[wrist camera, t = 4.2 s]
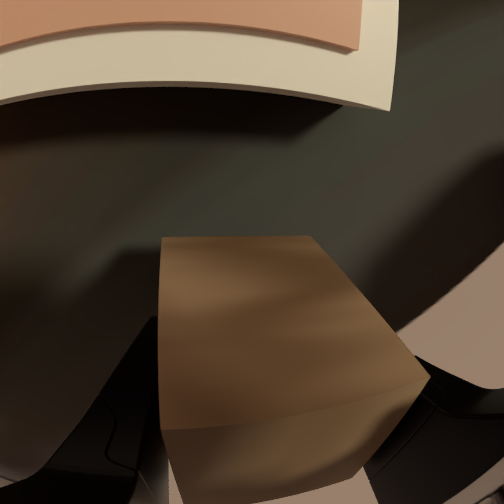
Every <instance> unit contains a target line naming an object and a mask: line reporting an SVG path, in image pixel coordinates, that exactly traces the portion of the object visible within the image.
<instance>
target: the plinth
mask: <svg viewBox="0 0 504 504" xmlns="http://www.w3.org/2000/svg"><path fill="white" fill-rule="evenodd" d="M398 4H399V0H0V105H4V104H8V103H13V102H17V101H22V100H28V99H33V98H39V97H44V96H51V95H57V94H65V93H72V92H81V91H90V90H101V89H115V88H133V87H202V88H221V89H235V90H247V91H257V92H266V93H274V94H282V95H289V96H296V97H302V98H308V99H314V100H320V101H325V102H330V103H335V104H340V105H346V106H355V107H363V108H370V109H378V110H384V111H390V105H391V97H392V89H393V80H394V70H395V59H396V47H397V31H398Z"/></svg>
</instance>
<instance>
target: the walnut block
mask: <svg viewBox="0 0 504 504" xmlns="http://www.w3.org/2000/svg"><path fill="white" fill-rule="evenodd" d="M429 378H430V375H429V374H428V373H427V372H426V370H425V369H424V368H423V367H422V365H421V364H420V363H419V362H418V360H417V359H416V358H415V357H414V355H413V354H412V353H411V352H410V350H409V349H408V348H407V347H406V345H405V344H404V343H403V342H402V340H401V339H400V338H399V337H398V336H397V334H396V333H395V332H394V331H393V330H392V328H391V327H390V326H389V325H388V324H387V322H386V321H385V320H384V319H383V318H382V316H381V315H380V314H379V313H378V312H377V311H376V309H375V308H374V307H373V306H372V305H371V303H370V302H369V301H368V300H367V299H366V298H365V297H364V295H363V294H362V293H361V292H360V291H359V290H358V288H357V287H356V286H355V285H354V284H353V283H352V282H351V280H350V279H349V278H348V277H347V276H346V275H345V274H344V273H343V271H342V270H341V269H340V268H339V267H338V266H337V265H336V264H335V262H334V261H333V260H332V259H331V258H330V257H329V256H328V255H327V254H326V252H325V251H324V250H323V249H322V248H321V247H320V246H319V245H318V244H317V243H316V242H315V240H314V239H313V238H312V237H311V236H206V237H162V242H161V258H160V276H159V303H158V384H159V409H160V427H161V433H162V437H163V440H164V444H165V447H166V451H167V454H168V458H169V461H170V464H171V467H172V471H173V474H174V477H175V480H176V483H177V486H178V489H179V492H180V495H181V498H182V501H183V503H184V504H252V503H257V502H263V501H269V500H273V499H278V498H283V497H287V496H292V495H296V494H300V493H304V492H307V491H311V490H315V489H318V488H322V487H325V486H329V485H332V484H335V483H338V482H341V481H344V480H347V479H350V478H352V477H353V476H354V475H355V474H356V473H357V472H358V471H359V470H360V469H361V468H362V466H363V465H364V464H365V463H366V462H367V461H368V460H369V459H370V457H371V456H372V455H373V454H374V453H375V452H376V451H377V449H378V448H379V447H380V446H381V445H382V443H383V442H384V441H385V440H386V438H387V437H388V436H389V435H390V433H391V432H392V431H393V430H394V428H395V427H396V426H397V424H398V423H399V422H400V420H401V419H402V418H403V416H404V415H405V414H406V412H407V411H408V410H409V408H410V407H411V405H412V404H413V402H414V401H415V400H416V398H417V397H418V395H419V394H420V392H421V391H422V389H423V388H424V386H425V385H426V383H427V382H428V380H429Z"/></svg>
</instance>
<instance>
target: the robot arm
mask: <svg viewBox="0 0 504 504" xmlns="http://www.w3.org/2000/svg"><path fill="white" fill-rule="evenodd" d="M414 357H415V358H416V359H417V360H418V362H419V363H420V364H421V365H422V367H423V368H424V369H425V370H426V372H427V373H428V374H429V375H430V378H429V380H428V382H427V383H426V385H425V386H424V388H423V389H422V391H421V392H420V394H419V395H418V397H417V398H416V400H415V401H414V402H413V404H412V405H411V407H410V408H409V410H408V411H407V412H406V414H405V415H404V416H403V418H402V419H401V420H400V422H399V423H398V424H397V426H396V427H395V428H394V430H393V431H392V432H391V433H390V435H389V436H388V437H387V438H386V440H385V441H384V442H383V443H382V445H381V446H380V447H379V448H378V449H377V451H376V452H375V453H374V454H373V455H372V456H371V457H370V459H369V460H368V461H367V462H366V463H365V464H364V465H363V468H364V470H365V472H366V475H367V477H368V479H369V480H370V481H369V482H370V484H371V487H372V489H373V491H374V494H375V496H376V499H377V501H378V504H504V388H501V389H485V388H481V387H479V386H476V385H474V384H472V383H470V382H468V381H465V380H463V379H461V378H459V377H457V376H454V375H452V374H450V373H448V372H446V371H444V370H442V369H440V368H438V367H436V366H434V365H432V364H430V363H428V362H426V361H424V360H423V359H421V358H419V357H417V356H414ZM168 459H169V458H168V454H167V451H166V447H165V444H164V440H163V437H162V433H161V427H160V409H159V384H158V316H152V317H150V318H149V320H148V321H147V323H146V324H145V326H144V327H143V328H142V330H141V331H140V333H139V334H138V336H137V337H136V339H135V340H134V342H133V343H132V345H131V346H130V348H129V349H128V350H127V352H126V353H125V355H124V356H123V358H122V359H121V361H120V362H119V364H118V365H117V367H116V368H115V370H114V371H113V373H112V374H111V376H110V378H109V379H108V381H107V382H106V384H105V385H104V387H103V388H102V390H101V391H100V393H99V395H98V396H97V397H96V399H95V400H94V402H93V404H92V405H91V407H90V408H89V410H88V411H87V413H86V414H85V415H84V417H83V418H82V420H81V421H80V422H79V423H78V425H77V426H76V427H75V429H74V430H73V431H72V432H71V434H70V435H69V436H68V437H67V438H66V440H65V441H64V442H63V443H62V444H61V446H60V447H59V448H58V449H57V451H56V452H55V453H54V454H53V455H52V457H51V458H50V459H49V460H48V462H47V463H46V464H45V465H44V466H43V467H42V468H41V469H40V470H39V471H38V472H36V473H35V474H34V475H32V476H30V477H28V478H26V479H23V480H21V481H18V482H15V483H13V484H10V485H7V486H4V487H1V488H0V504H169V490H168V488H169V486H168Z"/></svg>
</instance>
